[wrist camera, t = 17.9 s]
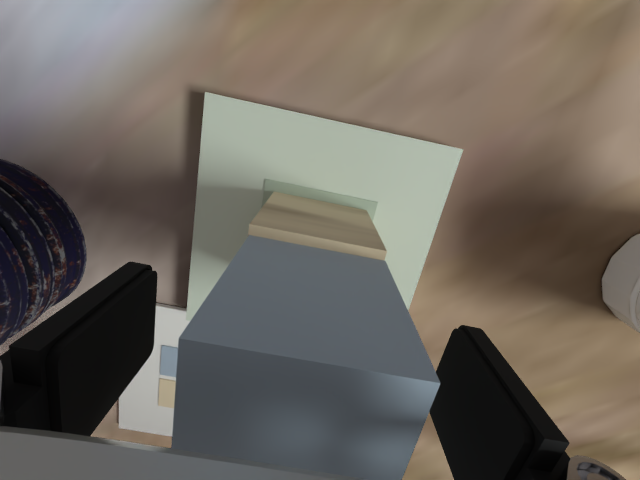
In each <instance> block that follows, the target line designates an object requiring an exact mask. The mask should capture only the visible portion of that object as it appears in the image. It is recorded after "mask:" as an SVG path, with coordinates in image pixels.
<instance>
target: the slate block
mask: <svg viewBox="0 0 640 480" xmlns="http://www.w3.org/2000/svg"><path fill="white" fill-rule="evenodd" d="M439 386H440V381H439V379H438V376H437V374H436V372H435V370H434V368H433V365H432V363H431V361H430V359H429V356H428V354H427V352H426V350H425V348H424V345H423V343H422V341H421V339H420V336H419V334H418V332H417V330H416V328H415V325H414V323H413V321H412V319H411V316H410V314H409V312H408V310H407V308H406V305H405V303H404V301H403V299H402V296H401V294H400V292H399V290H398V288H397V285H396V283H395V281H394V279H393V276H392V274H391V272H390V270H389V268H388V265H387V263H386V261H384V260H378V259H373V258H368V257H363V256H357V255H352V254H347V253H342V252H336V251H331V250H326V249H321V248H315V247H310V246H305V245H300V244H294V243H289V242H284V241H279V240H274V239H268V238H263V237H258V236H253V235H249V236H248V237H247V239H246V240H245V242H244V243H243V245H242V246H241V248H240V249H239V251H238V252H237V254H236V255H235V256H234V258H233V259H232V261H231V262H230V264H229V265H228V267H227V268H226V270H225V271H224V273H223V274H222V275H221V277H220V278H219V280H218V281H217V283H216V284H215V286H214V287H213V289H212V290H211V292H210V293H209V295H208V296H207V297H206V299H205V300H204V302H203V303H202V305H201V306H200V308H199V309H198V311H197V312H196V314H195V315H194V317H193V318H192V319H191V321H190V322H189V324H188V325H187V327H186V328H185V330H184V331H183V333H182V334H181V336H180V337H179V341H178V356H177V371H176V386H175V402H174V417H173V432H172V447H171V448H172V449H179V450H185V451H192V452H198V453H205V454H211V455H217V456H224V457H230V458H237V459H243V460H250V461H256V462H262V463H268V464H275V465H281V466H287V467H293V468H300V469H306V470H312V471H318V472H324V473H331V474H337V475H343V476H349V477H355V478H362V479H368V480H402V478H403V475H404V473H405V470H406V468H407V465H408V463H409V460H410V458H411V455H412V453H413V450H414V448H415V445H416V443H417V440H418V438H419V436H420V433H421V431H422V428H423V426H424V423H425V421H426V418H427V416H428V413H429V411H430V408H431V406H432V403H433V401H434V398H435V396H436V393H437V391H438V388H439Z"/></svg>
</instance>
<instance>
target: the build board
mask: <svg viewBox="0 0 640 480" xmlns="http://www.w3.org/2000/svg"><path fill="white" fill-rule="evenodd" d="M462 152H463V149H459V148H455V147H450V146H446V145H441V144H437V143H432V142H428V141H423V140H419V139H414V138H410V137H405V136H401V135H396V134H392V133H387V132H383V131H378V130H374V129H369V128H365V127H360V126H356V125H351V124H347V123H342V122H338V121H333V120H329V119H325V118H320V117H316V116H311V115H307V114H302V113H298V112H293V111H289V110H284V109H280V108H275V107H271V106H266V105H262V104H257V103H253V102H248V101H244V100H239V99H235V98H230V97H226V96H221V95H217V94H212V93H208V92H205V98H204V110H203V121H202V133H201V145H200V157H199V169H198V181H197V193H196V205H195V216H194V228H193V240H192V252H191V264H190V276H189V288H188V300H187V311H186V320H187V321H191V319H192V318H193V317H194V315H195V314H196V312H197V311H198V309H199V308H200V306H201V305H202V303H203V302H204V300H205V299H206V297H207V296H208V295H209V293H210V292H211V290H212V289H213V287H214V286H215V284H216V283H217V281H218V280H219V278H220V277H221V275H222V274H223V273H224V271H225V270H226V268H227V267H228V265H229V264H230V262H231V261H232V259H233V258H234V256H235V255H236V254H237V252H238V251H239V249H240V248H241V246H242V245H243V243H244V242H245V240H246V239H247V237H248V231H249V224H250V223H251V221H252V220H253V219H254V217H255V216H256V215H257V213H258V212H259V211H260V209H261V208H262V207H263V205H264V204H265V203H266V202H267V200H268V199H269V198H270V196H271V195H272V194H273V192H279V193H284V194H289V195H294V196H299V197H304V198H309V199H314V200H319V201H324V202H329V203H334V204H338V205H343V206H348V207H353V208H358V209H363V210H367V212H368V214H369V216H370V218H371V220H372V222H373V224H374V226H375V228H376V230H377V232H378V234H379V236H380V238H381V240H382V242H383V244H384V246H385V248H386V250H387V253H386V257H385V260H384V261H386V263H387V265H388V268H389V270H390V272H391V274H392V276H393V279H394V281H395V283H396V285H397V288H398V290H399V292H400V294H401V296H402V299H403V301H404V303H405V305H406V308H407V310H409V307H410V304H411V301H412V298H413V295H414V292H415V289H416V286H417V283H418V280H419V277H420V274H421V272H422V269H423V266H424V263H425V260H426V257H427V254H428V251H429V248H430V245H431V242H432V239H433V237H434V234H435V231H436V228H437V225H438V222H439V219H440V216H441V213H442V210H443V207H444V204H445V201H446V199H447V196H448V193H449V190H450V187H451V184H452V181H453V178H454V175H455V172H456V169H457V166H458V164H459V161H460V158H461V155H462Z"/></svg>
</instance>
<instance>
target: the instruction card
mask: <svg viewBox="0 0 640 480" xmlns="http://www.w3.org/2000/svg"><path fill="white" fill-rule="evenodd" d="M186 311H187V308H181V307H176V306H170V305H165V304H159V303H156V314H155V334H154V347H153V351H152V353H151V355H150V357H149V358H148V360H147V361H146V362H145V364H144V365H143V366H142V368H141V369H140V370H139V372H138V373H137V374H136V376H135V377H134V378H133V380H132V381H131V382H130V384H129V385H128V386H127V388H126V389H125V390H124V392H123V393H122V394H121V396H120V397H119V428H122V429H128V430H134V431H140V432H146V433H153V434H159V435H165V436H171V437H172V432H173V417H174V402H175V386H176V371H177V356H178V341H179V337H180V336H181V334H182V333H183V331H184V330H185V328H186V327H187V325H188V324H189V322H190V321H187V320H186Z"/></svg>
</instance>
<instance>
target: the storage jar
mask: <svg viewBox="0 0 640 480" xmlns="http://www.w3.org/2000/svg"><path fill="white" fill-rule="evenodd" d="M85 266H86V245H85V240H84V236H83V233H82V230H81V228H80V225H79V223H78V221H77V219H76V217H75V215H74V213H73V212H72V210H71V209H70V208H69V206H68V205H67V203H66V202H65V201H64V200H63V199H62V197H61V196H60V195H59V194H58V193H57V192H56V191H55V190H54V189H53V188H52V187H51V186H49V185H48V184H47V183H46V182H45V181H44V180H42V179H41V178H39V177H38V176H36V175H35V174H33V173H32V172H30V171H28V170H26V169H24V168H22V167H20V166H18V165H16V164H13V163H10V162H8V161H5V160H1V159H0V345H1V344H3V343H4V342H5V341H6V340H7V339H8V338H10V337H12V336H13V335H15V334H16V333H18V332H19V331H21V330H22V329H24V328H25V327H27V326H28V325H30V324H31V323H33V322H34V321H35V320H37V319H38V318H39V317H40V316H41V315H42V313H44V312H45V311H46V310H48V309H49V308H50V307H52V306H54V305H56V304H57V303H59V302H60V301H62V300H63V299H64V298H66V297H67V296H69V295H70V294H71V293H72V292H73V291H74V290H75V289H76V287H77V286H78V284H79V283H80V281H81V279H82V277H83V274H84V271H85Z"/></svg>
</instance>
